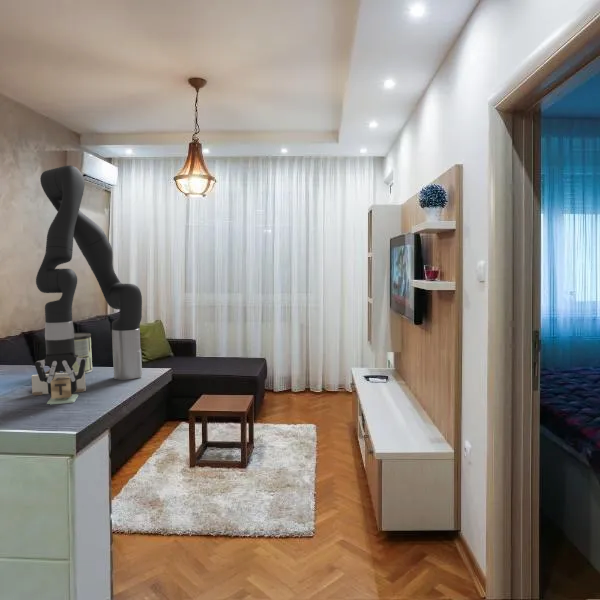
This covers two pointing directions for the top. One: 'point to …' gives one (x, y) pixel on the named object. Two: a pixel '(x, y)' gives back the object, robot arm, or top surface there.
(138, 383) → the top surface
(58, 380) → the letter cube
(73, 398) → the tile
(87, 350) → the coffee can
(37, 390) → the screen
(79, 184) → the robot arm
